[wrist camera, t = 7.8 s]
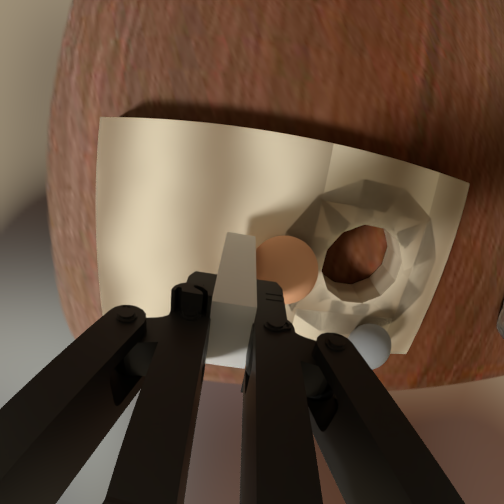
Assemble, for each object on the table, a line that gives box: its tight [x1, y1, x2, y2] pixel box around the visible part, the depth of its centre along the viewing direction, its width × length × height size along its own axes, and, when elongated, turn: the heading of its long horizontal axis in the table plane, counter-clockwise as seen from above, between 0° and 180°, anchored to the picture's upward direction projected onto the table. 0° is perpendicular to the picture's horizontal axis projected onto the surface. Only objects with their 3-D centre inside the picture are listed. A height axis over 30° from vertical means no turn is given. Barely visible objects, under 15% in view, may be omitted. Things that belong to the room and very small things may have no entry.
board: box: [96, 117, 470, 354], centre depth 19 cm, size 22×13×2 cm, turn 81°
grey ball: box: [348, 324, 391, 369], centre depth 18 cm, size 3×3×3 cm
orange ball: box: [256, 235, 318, 304], centre depth 16 cm, size 4×4×4 cm
